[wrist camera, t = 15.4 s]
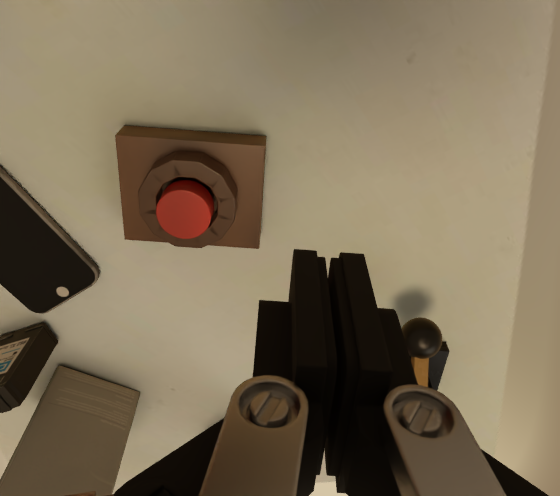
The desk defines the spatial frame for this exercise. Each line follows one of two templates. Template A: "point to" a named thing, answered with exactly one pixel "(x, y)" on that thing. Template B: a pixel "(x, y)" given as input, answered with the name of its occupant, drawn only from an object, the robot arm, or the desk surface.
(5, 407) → the ink cartridge
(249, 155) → the button box
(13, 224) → the smartphone
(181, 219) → the button
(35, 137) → the desk surface
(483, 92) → the desk surface
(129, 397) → the cosmetic box
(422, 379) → the switch lever
